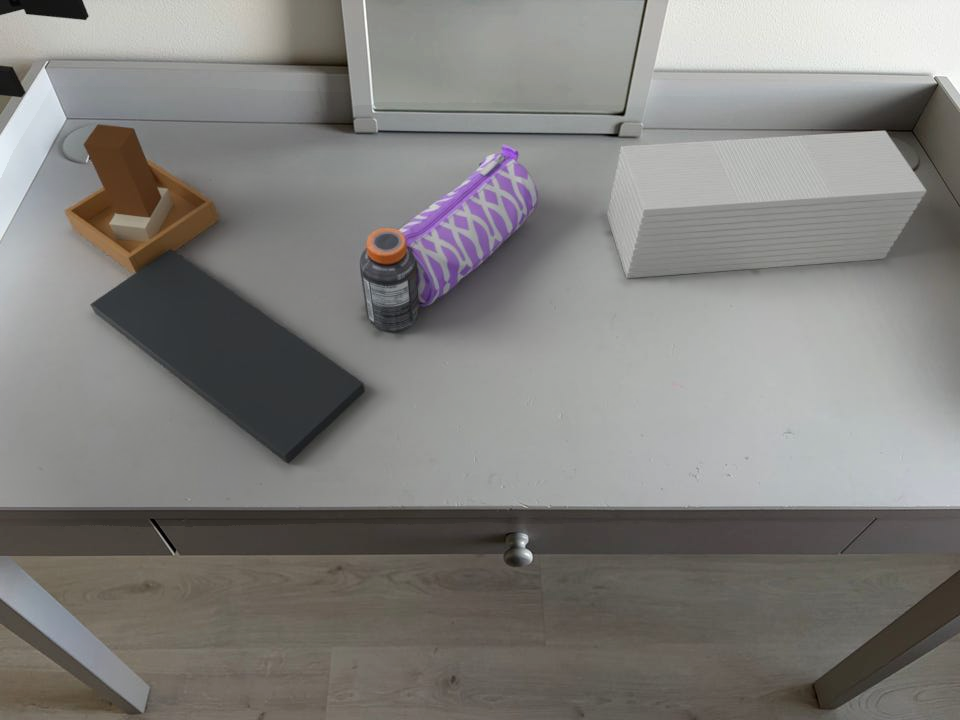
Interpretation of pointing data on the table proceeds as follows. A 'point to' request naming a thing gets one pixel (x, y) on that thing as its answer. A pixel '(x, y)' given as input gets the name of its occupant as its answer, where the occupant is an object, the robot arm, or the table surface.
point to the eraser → (128, 183)
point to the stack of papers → (759, 202)
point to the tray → (176, 230)
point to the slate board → (230, 353)
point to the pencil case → (469, 223)
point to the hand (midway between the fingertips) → (52, 42)
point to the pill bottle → (389, 281)
